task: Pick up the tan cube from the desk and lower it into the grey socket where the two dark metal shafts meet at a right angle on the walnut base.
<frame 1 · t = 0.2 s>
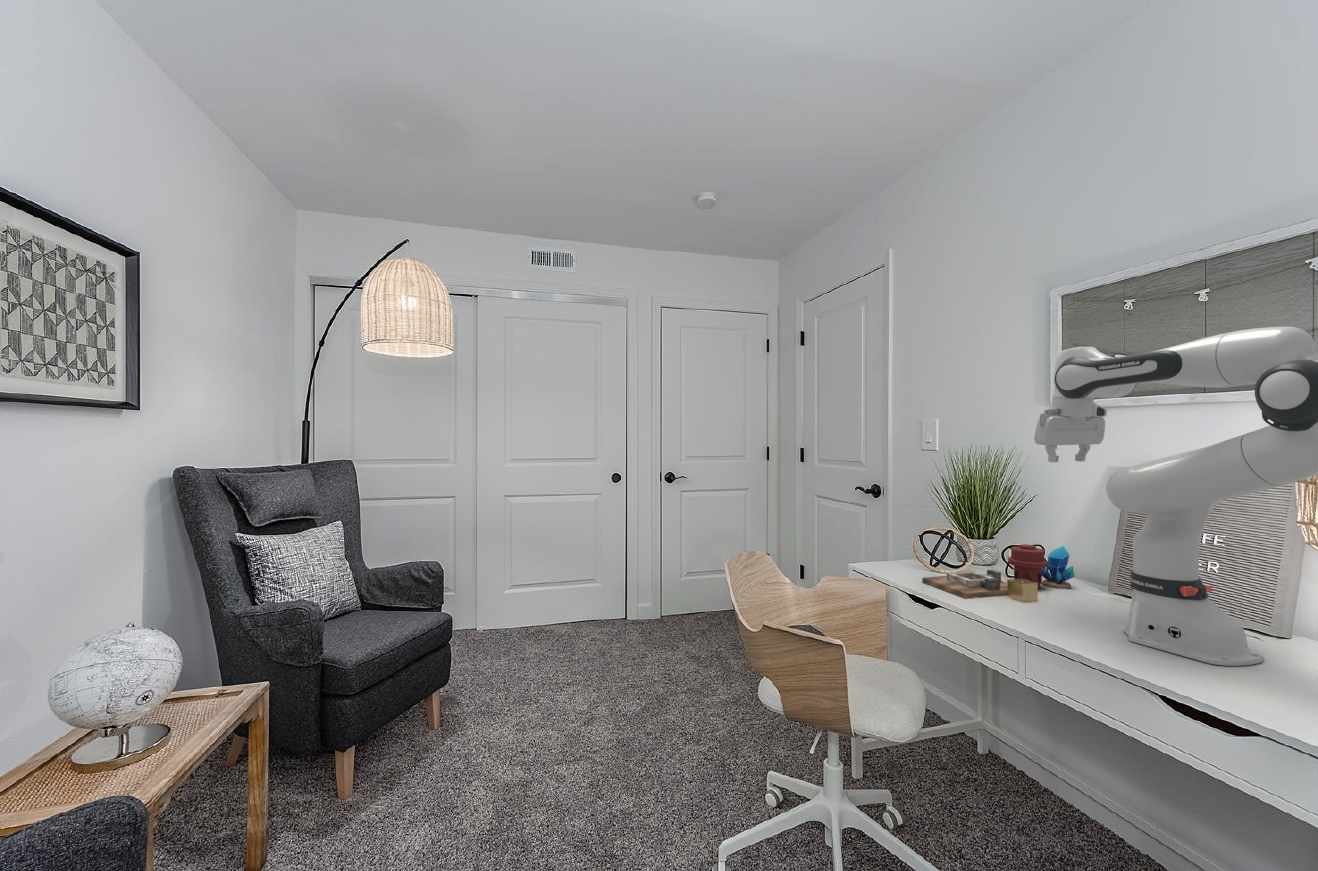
hand: (1066, 461, 151), 38 cm above the table, tool pointing down, fingers open, 8 cm apart
tan cube: (1022, 599, 159), on the table
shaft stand: (971, 587, 171), on the table
mechanical component: (1027, 587, 171), on the table
gemstone: (1055, 586, 172), on the table
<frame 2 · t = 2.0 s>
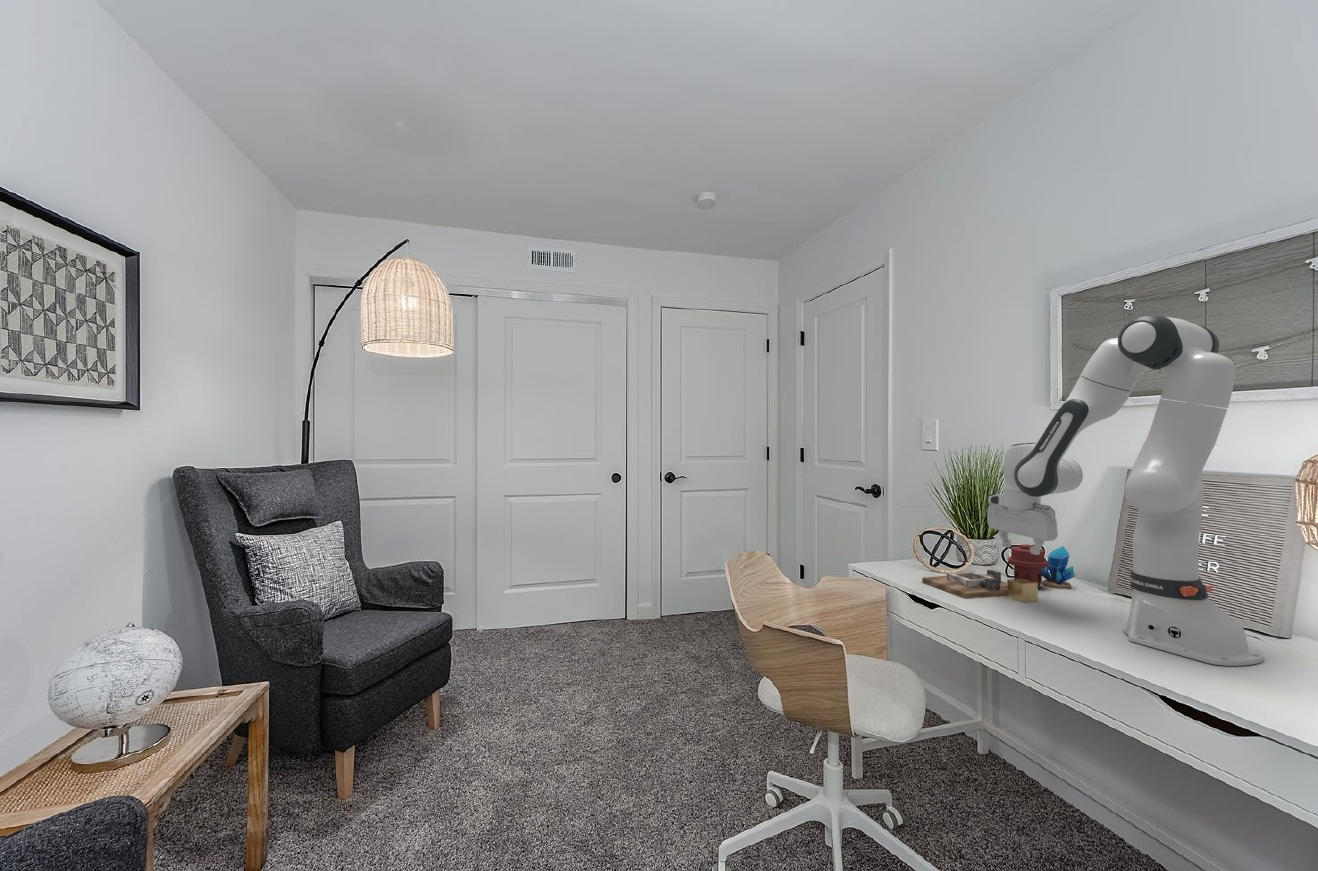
hand: (1020, 550, 159), 13 cm above the table, tool pointing down, fingers open, 8 cm apart
nothing on the table moved.
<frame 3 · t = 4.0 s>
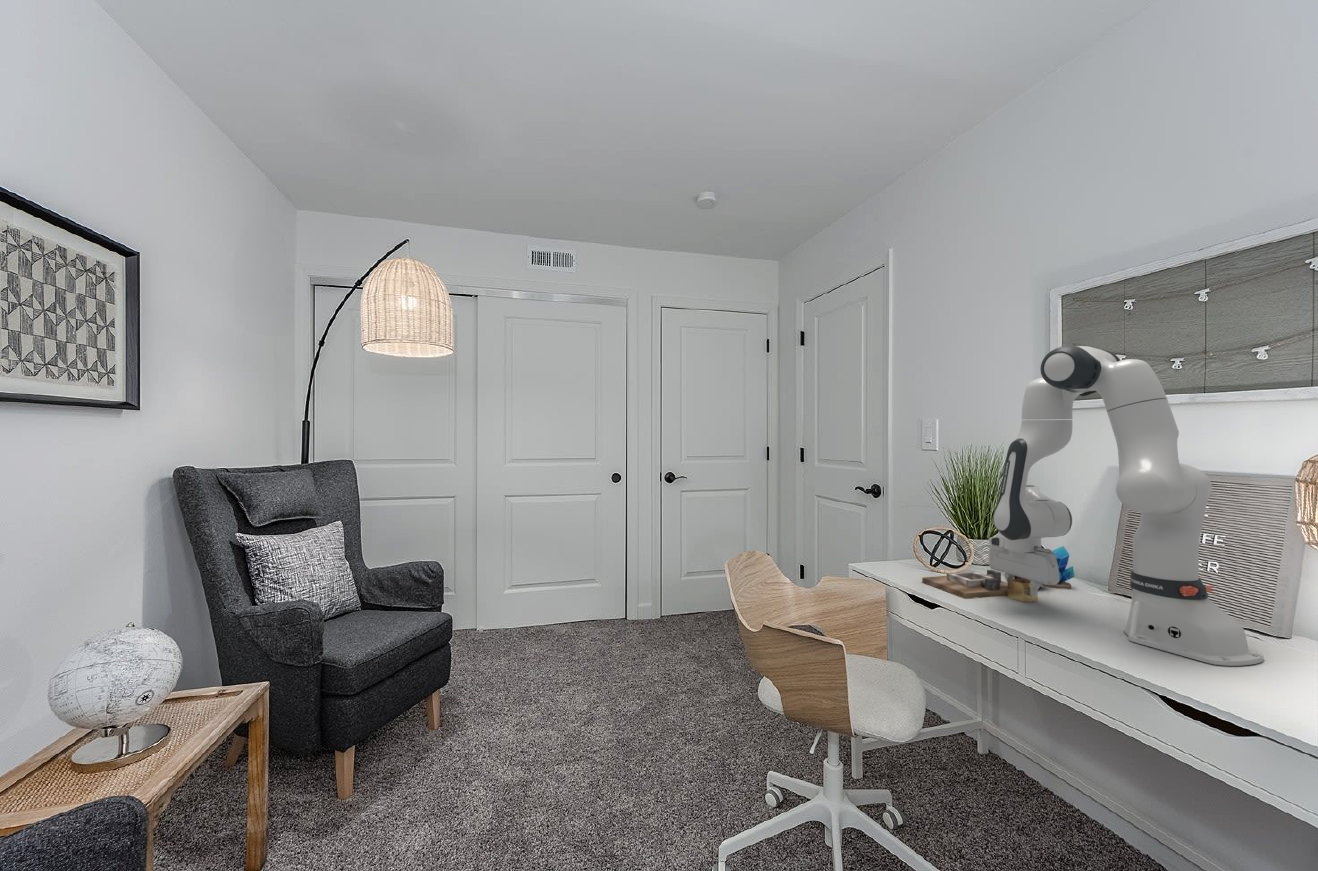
hand: (1022, 592, 159), 2 cm above the table, tool pointing down, fingers closed on tan cube, 5 cm apart
tan cube: (1022, 598, 159), on the table, touching gripper
everything else where it was.
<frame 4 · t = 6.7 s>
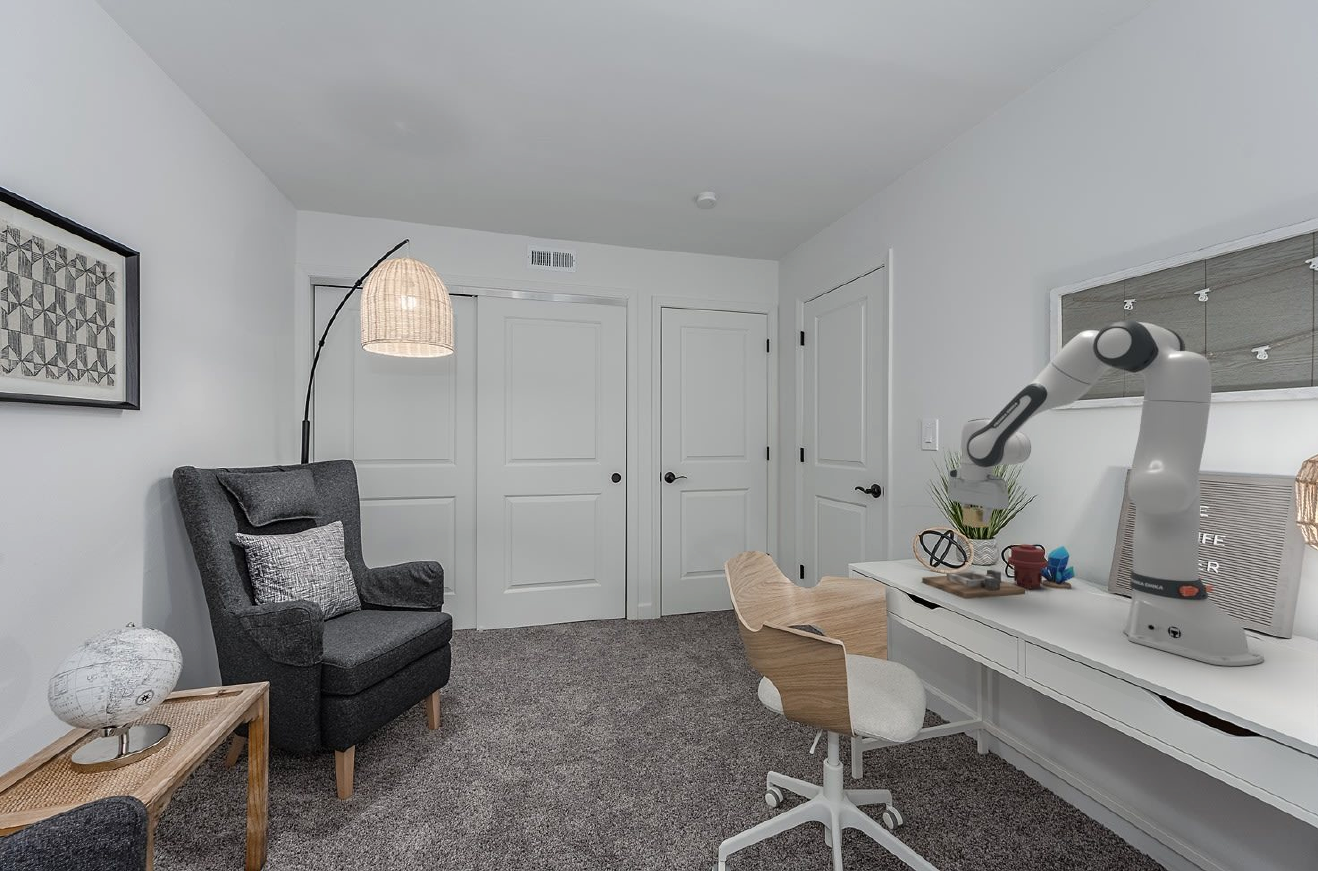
hand: (976, 520, 170), 20 cm above the table, tool pointing down, fingers closed on tan cube, 5 cm apart
tan cube: (976, 525, 170), point 19 cm above the table, touching gripper
everything else where it was.
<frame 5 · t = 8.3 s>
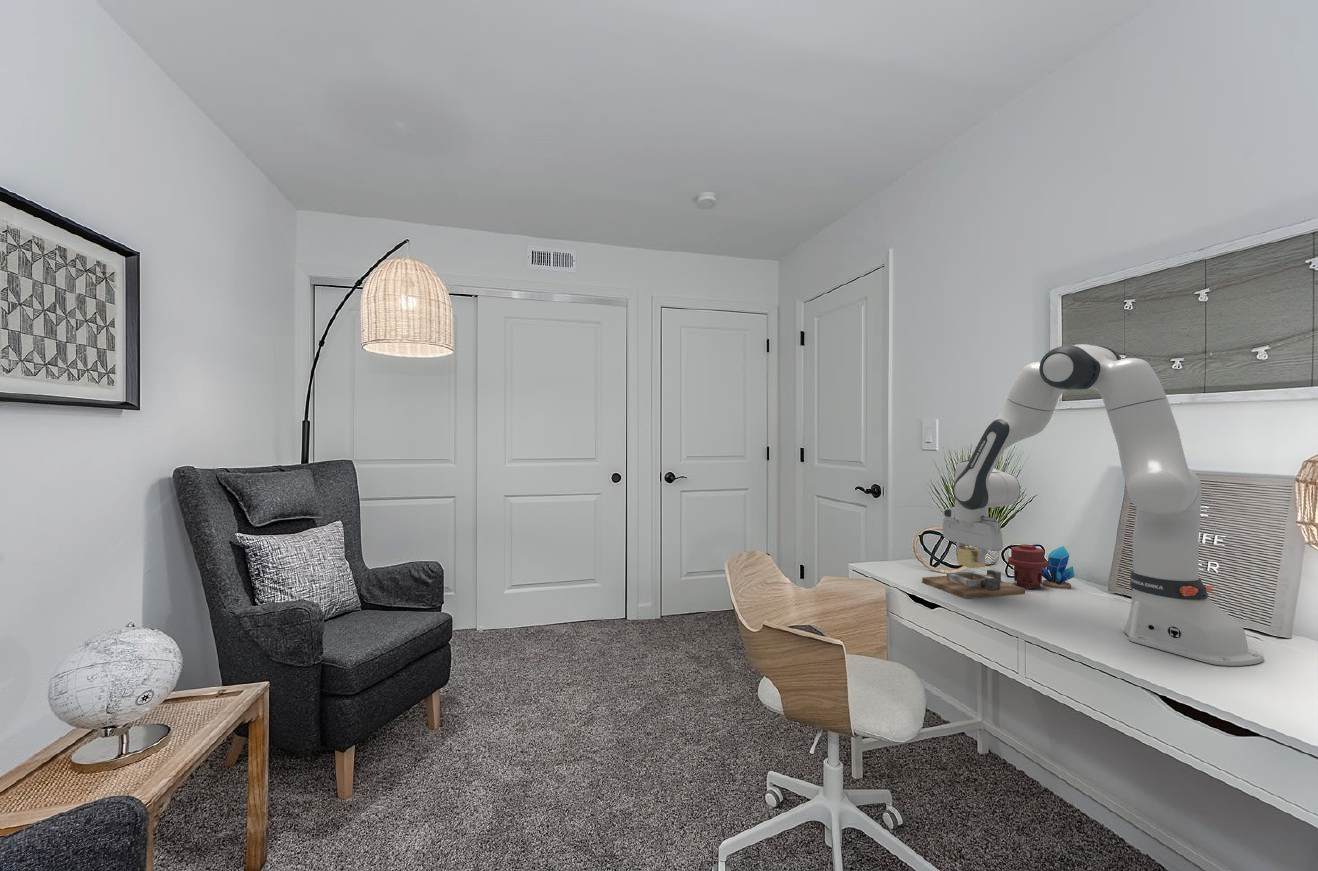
hand: (971, 560, 170), 8 cm above the table, tool pointing down, fingers closed on tan cube, 5 cm apart
tan cube: (971, 565, 170), point 7 cm above the table, touching gripper
everything else where it was.
when the fingers open (4 cm above the table, at t = 9.6 s): tan cube stays where it is, resting on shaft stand.
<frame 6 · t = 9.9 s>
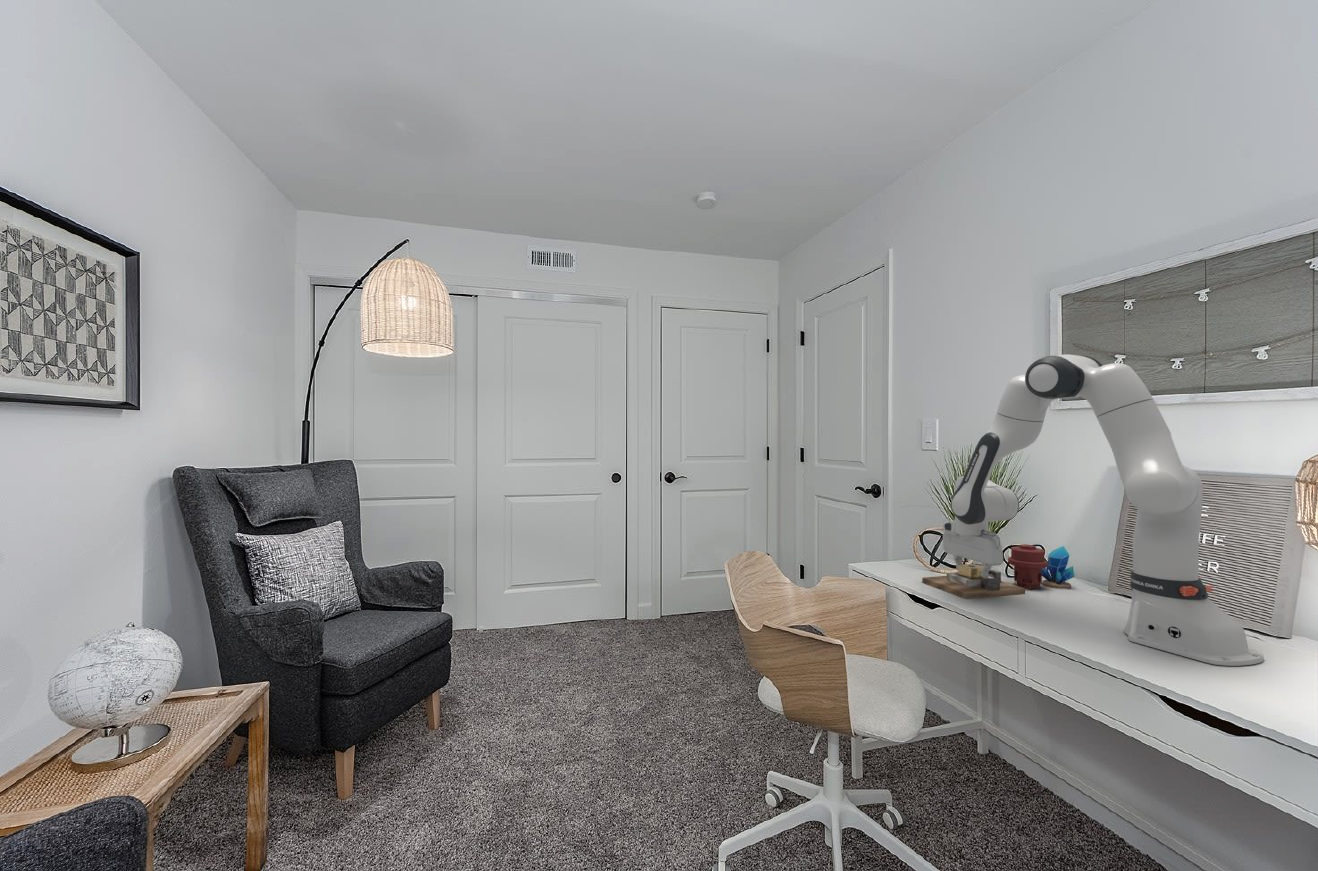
hand: (971, 574, 170), 4 cm above the table, tool pointing down, fingers open, 8 cm apart
tan cube: (971, 582, 170), point 1 cm above the table, touching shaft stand
everything else where it was.
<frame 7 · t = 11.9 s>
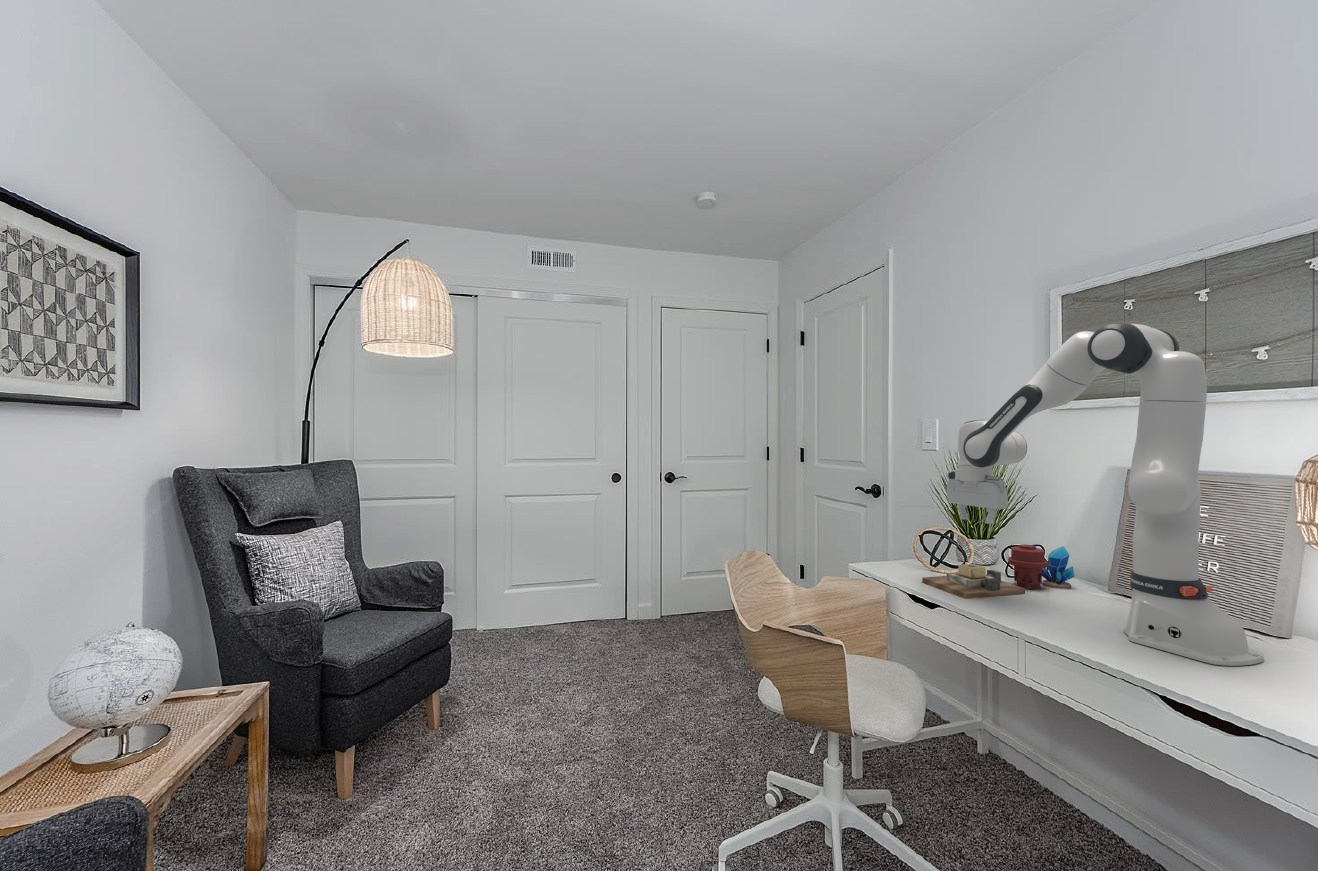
hand: (976, 521, 170), 20 cm above the table, tool pointing down, fingers open, 8 cm apart
nothing on the table moved.
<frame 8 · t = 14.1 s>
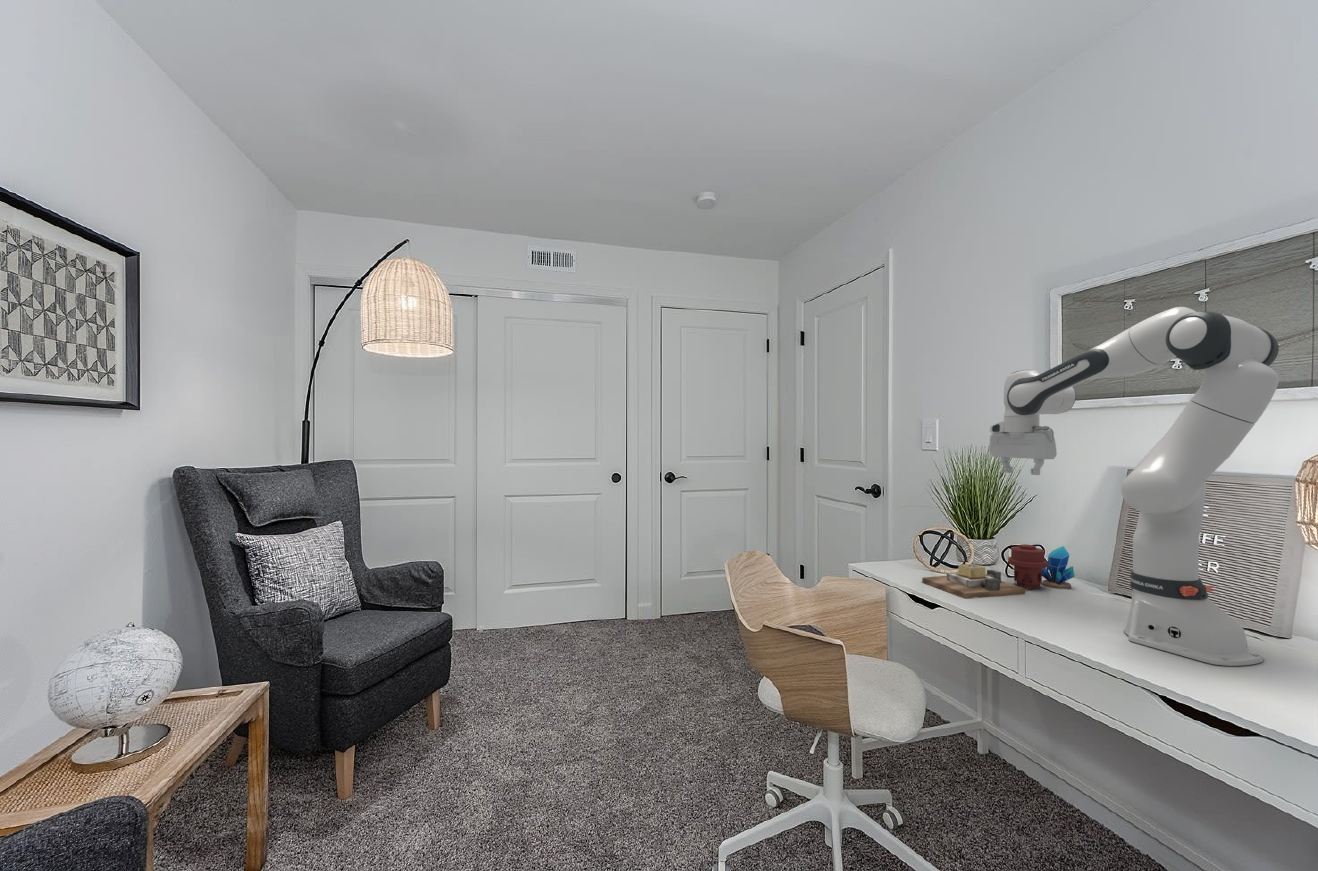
hand: (1021, 473, 167), 34 cm above the table, tool pointing down, fingers open, 8 cm apart
nothing on the table moved.
at the end: tan cube 0.1 cm off-centre on the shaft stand, point 1.5 cm above the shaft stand's base; tan cube tilted 0°; the gripper is holding nothing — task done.
